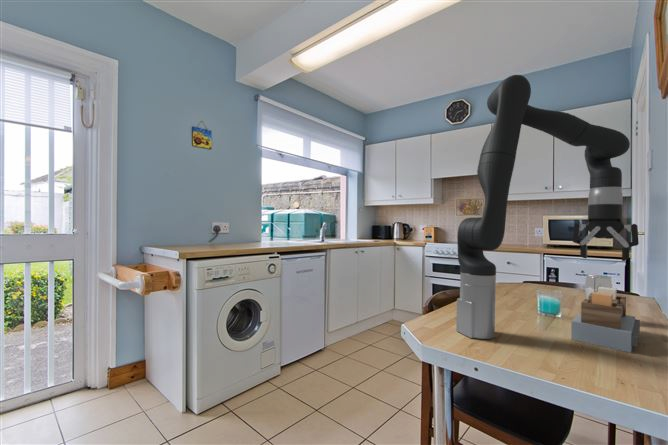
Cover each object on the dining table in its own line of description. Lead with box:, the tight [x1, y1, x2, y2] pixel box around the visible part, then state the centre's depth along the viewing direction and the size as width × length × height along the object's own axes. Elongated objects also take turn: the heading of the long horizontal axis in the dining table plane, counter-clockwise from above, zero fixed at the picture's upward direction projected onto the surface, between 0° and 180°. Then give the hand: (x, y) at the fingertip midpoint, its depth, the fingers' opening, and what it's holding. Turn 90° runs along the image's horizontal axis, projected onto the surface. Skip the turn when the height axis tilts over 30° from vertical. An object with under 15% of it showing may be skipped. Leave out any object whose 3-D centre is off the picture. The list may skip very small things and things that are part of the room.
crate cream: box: [598, 287, 618, 299], centre depth 94 cm, size 4×4×4 cm
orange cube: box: [592, 292, 613, 307], centre depth 85 cm, size 4×4×4 cm
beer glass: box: [584, 274, 613, 299], centre depth 106 cm, size 7×7×15 cm
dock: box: [570, 311, 641, 354], centre depth 89 cm, size 22×13×5 cm, turn 134°
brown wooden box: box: [580, 293, 627, 330], centre depth 89 cm, size 20×8×6 cm, turn 134°
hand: (603, 259), depth 90 cm, fingers open, 8 cm apart
